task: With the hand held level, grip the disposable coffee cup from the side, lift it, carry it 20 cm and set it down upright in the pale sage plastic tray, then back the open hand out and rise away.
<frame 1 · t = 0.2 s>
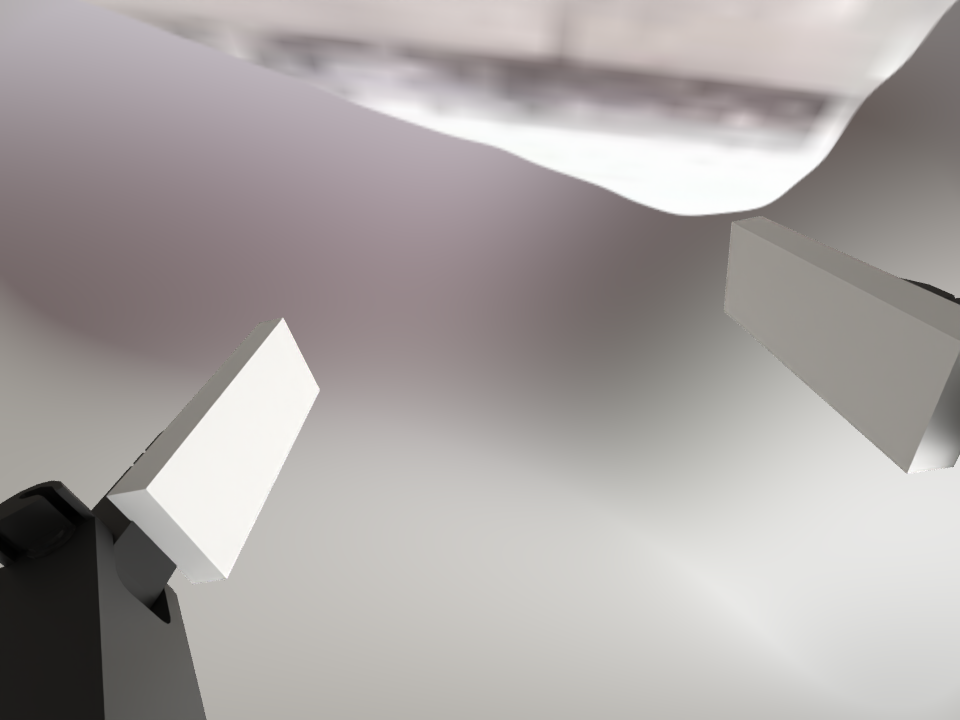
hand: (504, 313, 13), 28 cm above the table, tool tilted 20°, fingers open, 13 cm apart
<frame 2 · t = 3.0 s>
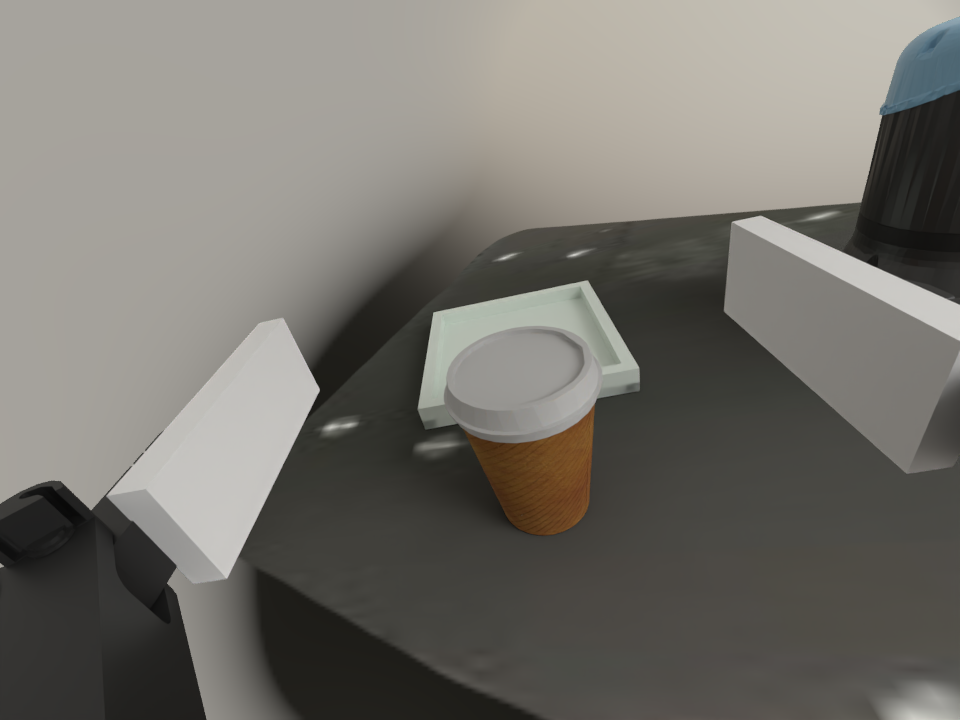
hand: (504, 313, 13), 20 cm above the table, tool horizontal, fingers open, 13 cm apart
tray: (519, 354, 49), on the table
disposable coffee cup: (545, 499, 32), on the table
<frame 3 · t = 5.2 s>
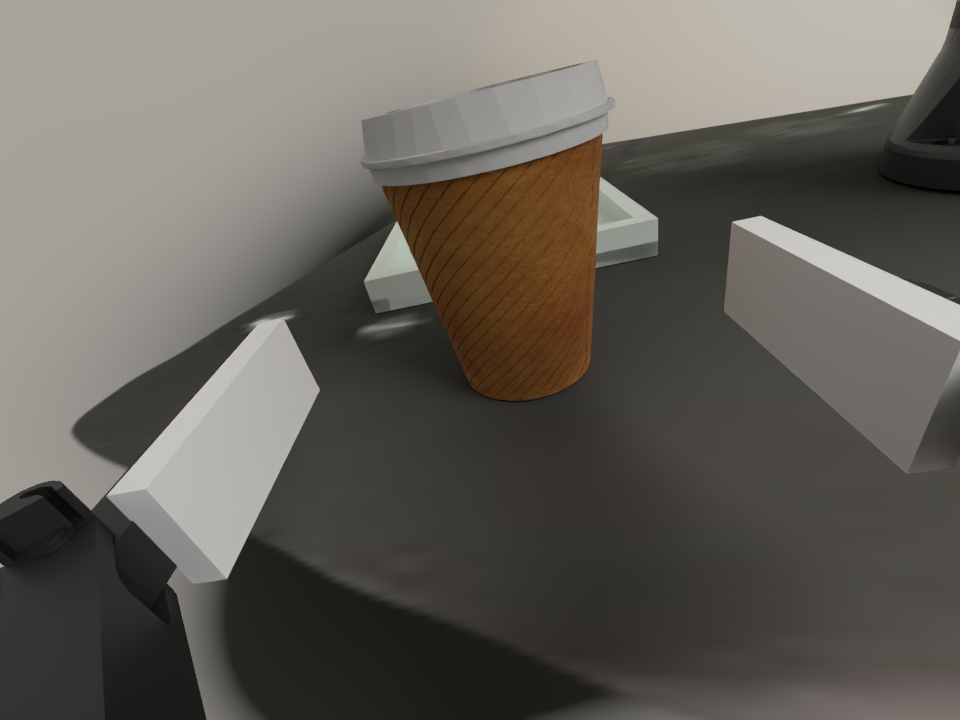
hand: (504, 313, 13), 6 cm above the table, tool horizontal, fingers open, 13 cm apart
tray: (503, 241, 39), on the table
disposable coffee cup: (527, 365, 22), on the table
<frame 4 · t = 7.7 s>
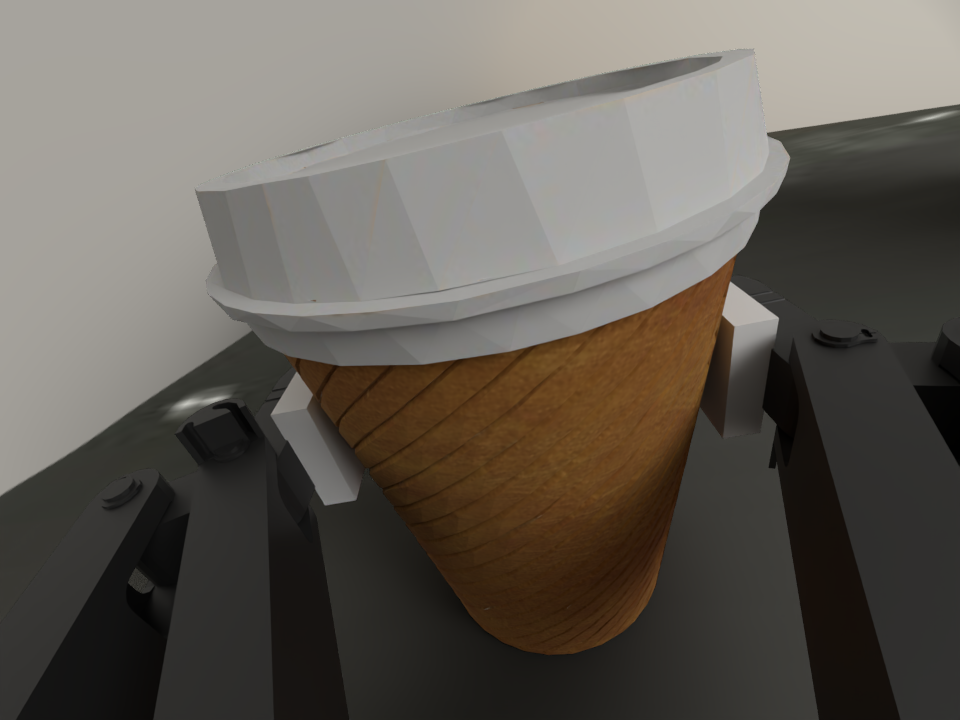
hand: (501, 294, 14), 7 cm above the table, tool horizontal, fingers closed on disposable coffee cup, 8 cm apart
disposable coffee cup: (550, 548, 14), on the table, touching gripper
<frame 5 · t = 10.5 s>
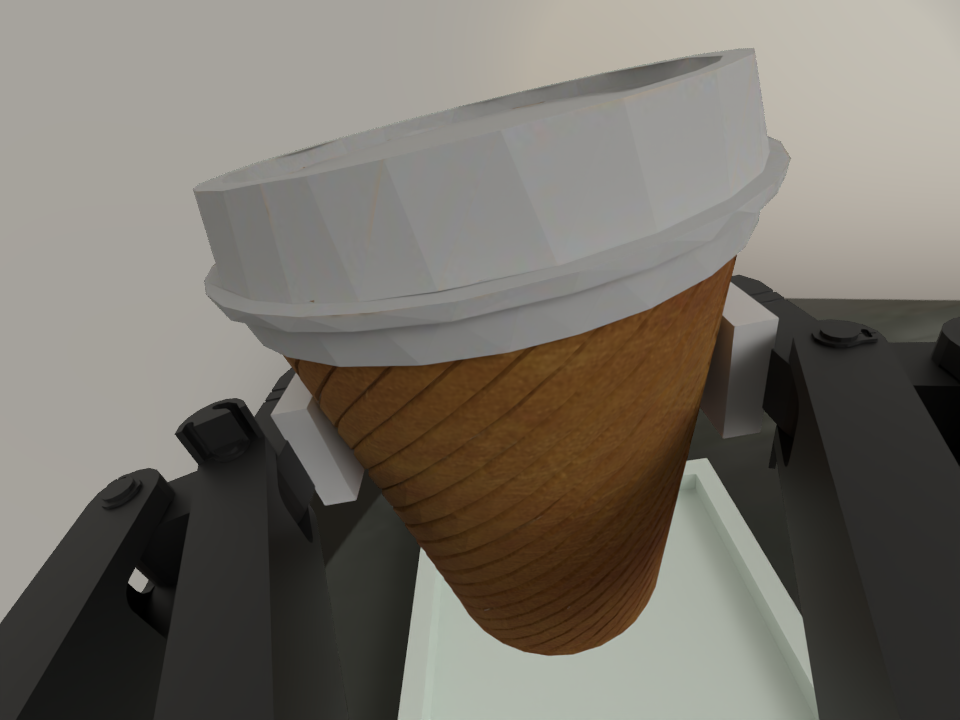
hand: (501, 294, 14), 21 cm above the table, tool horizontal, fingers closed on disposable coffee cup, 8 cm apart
tray: (594, 647, 24), on the table
disposable coffee cup: (550, 548, 14), point 15 cm above the table, touching gripper
when the fingers open (9 cm above the table, at t = 13.6 s): disposable coffee cup drops 1 cm, resting on tray.
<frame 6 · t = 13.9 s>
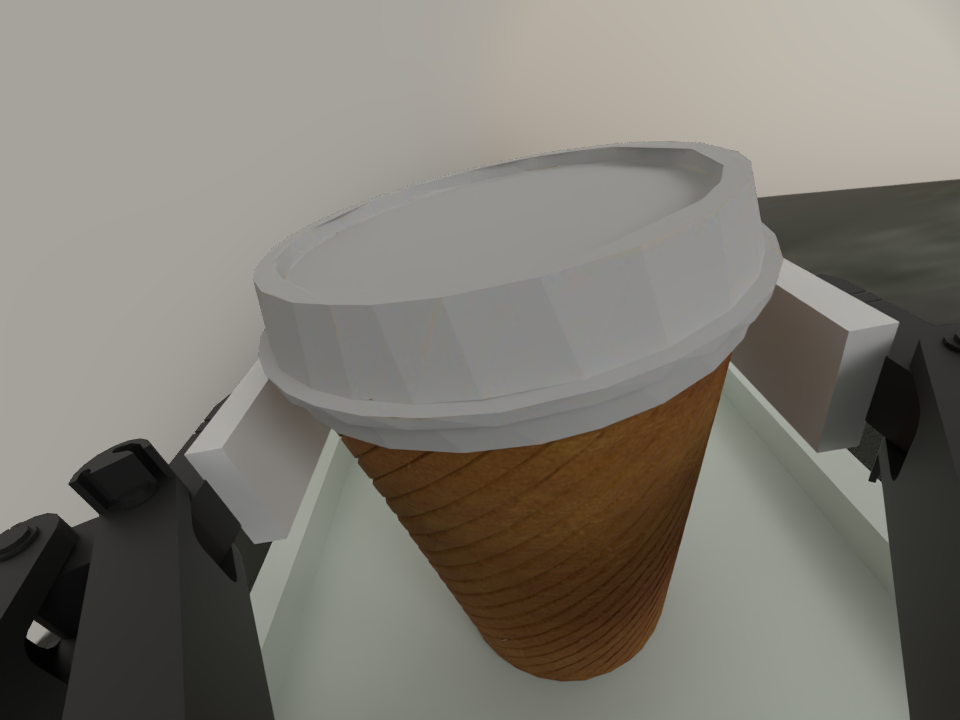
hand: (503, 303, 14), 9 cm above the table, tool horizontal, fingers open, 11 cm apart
tray: (559, 587, 15), on the table
disposable coffee cup: (560, 575, 15), point 1 cm above the table, touching tray
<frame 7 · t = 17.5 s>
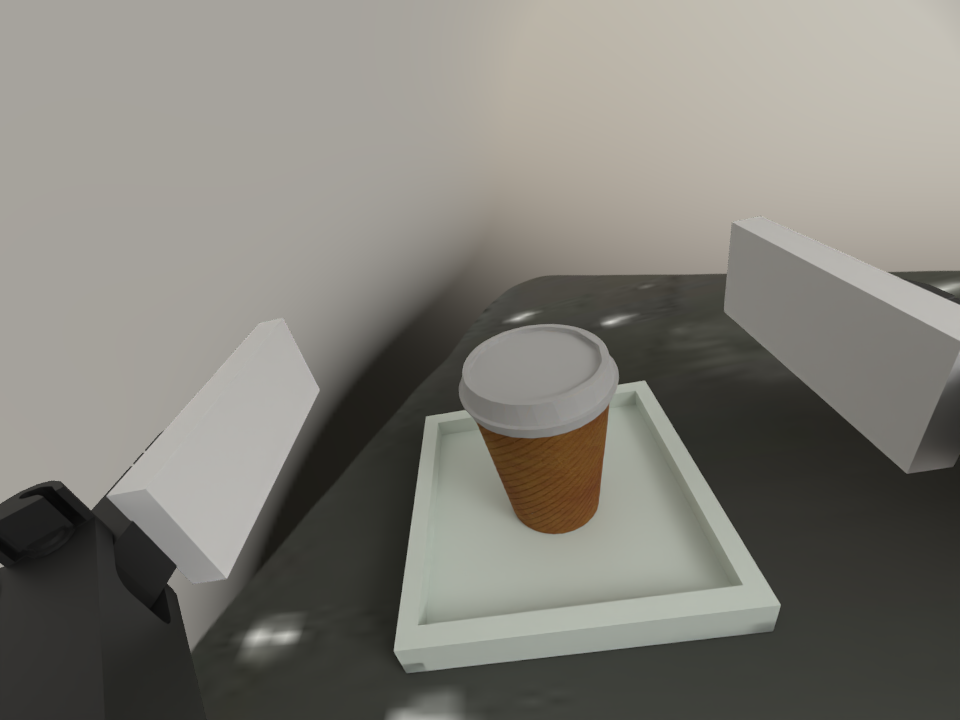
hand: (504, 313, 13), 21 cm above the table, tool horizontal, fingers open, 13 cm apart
tray: (553, 506, 33), on the table
disposable coffee cup: (554, 499, 32), point 1 cm above the table, touching tray
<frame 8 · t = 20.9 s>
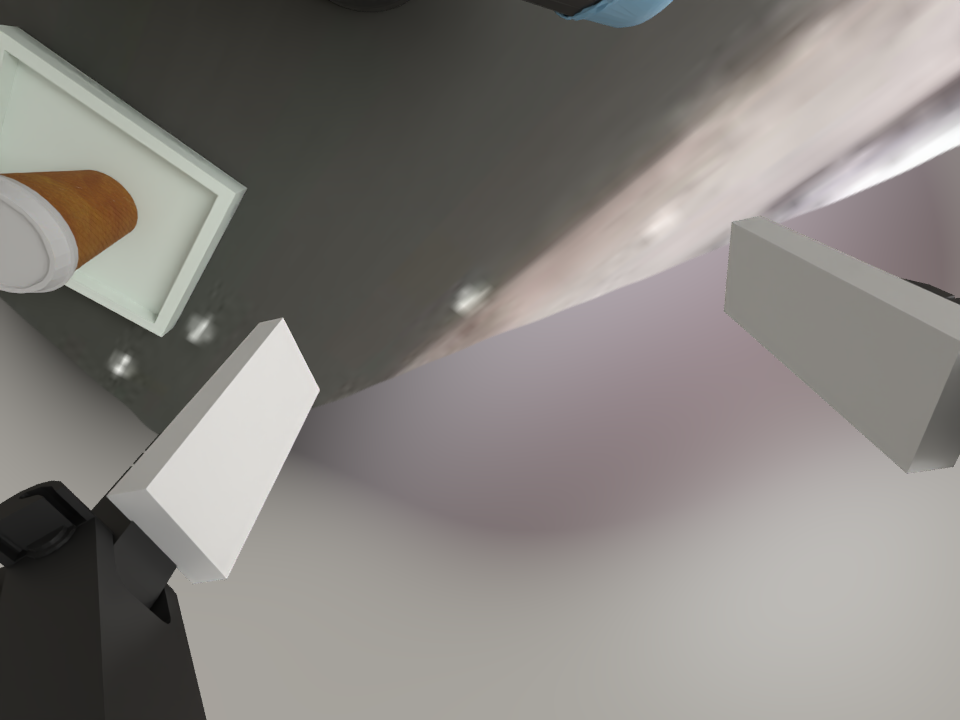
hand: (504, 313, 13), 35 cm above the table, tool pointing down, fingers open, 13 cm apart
tray: (109, 202, 44), on the table
disposable coffee cup: (104, 203, 43), point 1 cm above the table, touching tray
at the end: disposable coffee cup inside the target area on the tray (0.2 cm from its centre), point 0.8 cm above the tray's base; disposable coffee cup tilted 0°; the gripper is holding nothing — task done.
